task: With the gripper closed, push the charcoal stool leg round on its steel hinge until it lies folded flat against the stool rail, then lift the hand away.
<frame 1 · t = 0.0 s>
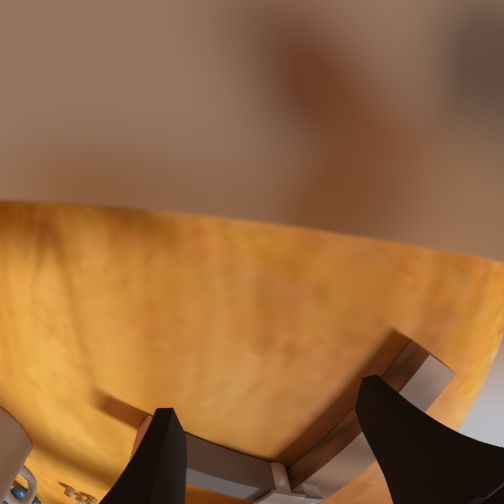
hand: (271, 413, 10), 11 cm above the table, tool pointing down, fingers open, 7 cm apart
dice set: (88, 494, 25), on the table
stool leg: (218, 469, 21), point 2 cm above the table, hinge at 90.0°
mug: (15, 436, 21), on the table
grapes: (23, 488, 24), on the table
stool rail: (353, 433, 24), on the table
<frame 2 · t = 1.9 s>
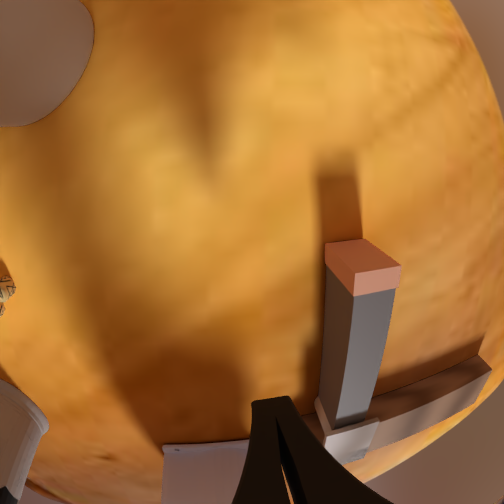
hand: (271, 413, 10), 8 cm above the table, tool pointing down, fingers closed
dice set: (0, 274, 16), on the table
stool leg: (348, 363, 17), point 2 cm above the table, hinge at 90.0°
glass holder: (21, 419, 21), on the table
mug: (26, 86, 11), on the table
stool rail: (397, 404, 24), on the table
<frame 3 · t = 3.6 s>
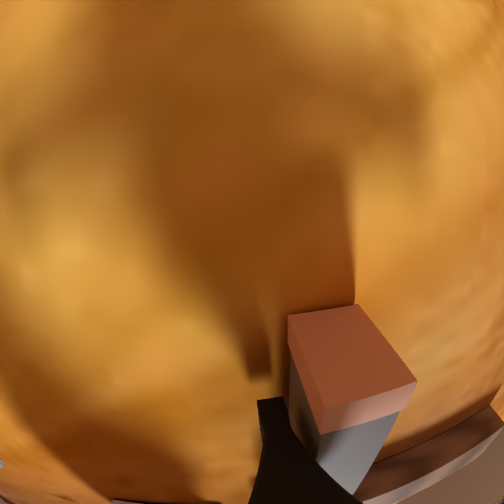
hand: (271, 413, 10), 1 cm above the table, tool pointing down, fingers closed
stool leg: (320, 464, 11), point 2 cm above the table, hinge at 89.0°, touching gripper
stool rail: (389, 468, 17), on the table
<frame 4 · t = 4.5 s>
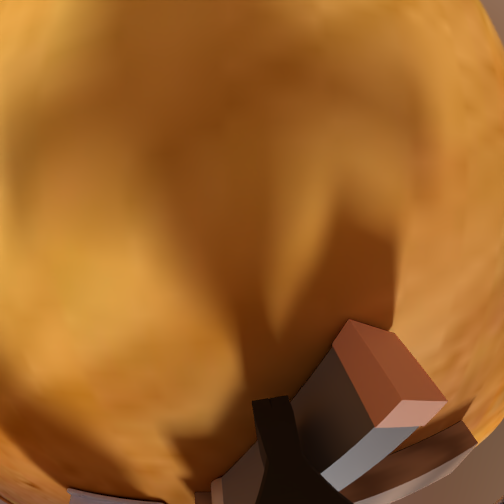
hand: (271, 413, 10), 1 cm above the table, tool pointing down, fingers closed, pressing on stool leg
stool leg: (288, 472, 11), point 2 cm above the table, hinge at 60.6°, touching gripper
stool rail: (342, 482, 17), on the table
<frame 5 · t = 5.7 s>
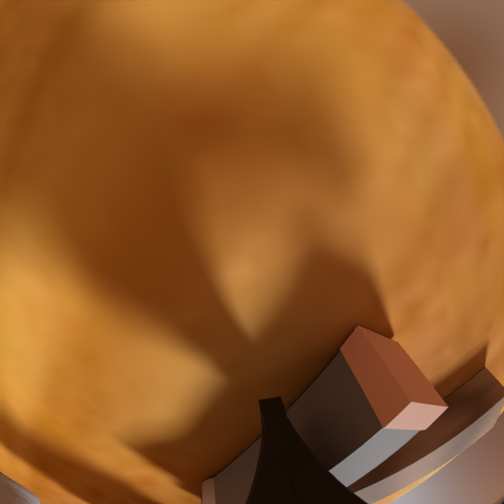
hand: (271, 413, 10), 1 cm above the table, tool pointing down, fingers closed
stool leg: (285, 474, 11), point 2 cm above the table, hinge at 34.9°, touching gripper
glass holder: (23, 493, 18), on the table
stool rail: (356, 464, 16), on the table
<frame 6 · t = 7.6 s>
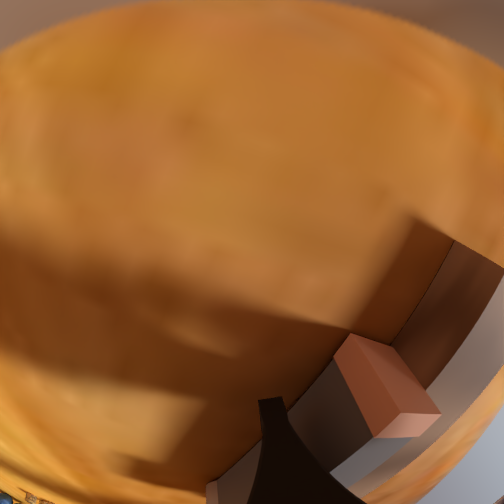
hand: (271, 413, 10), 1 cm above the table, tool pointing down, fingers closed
dice set: (51, 500, 19), on the table
stool leg: (284, 477, 11), point 2 cm above the table, hinge at -2.1°, touching gripper, stool rail
grapes: (8, 494, 19), on the table
stool rail: (358, 429, 13), on the table
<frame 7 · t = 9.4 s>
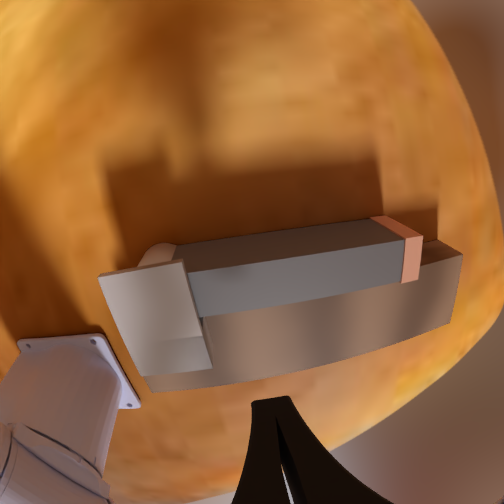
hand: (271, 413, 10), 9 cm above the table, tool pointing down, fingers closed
stool leg: (276, 265, 15), point 2 cm above the table, hinge at -2.1°
stool rail: (304, 306, 19), on the table
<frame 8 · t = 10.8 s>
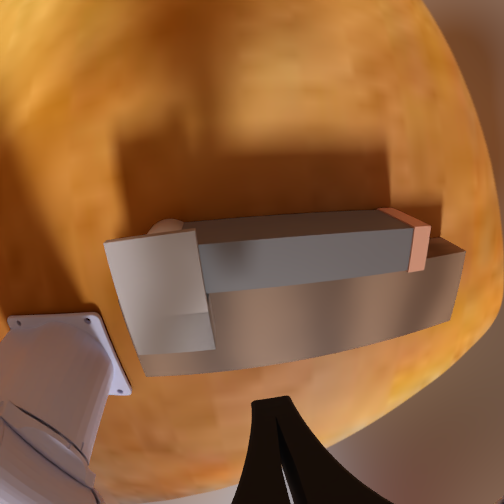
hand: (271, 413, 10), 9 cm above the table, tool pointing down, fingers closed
stool leg: (286, 246, 15), point 2 cm above the table, hinge at -2.1°
stool rail: (307, 295, 19), on the table
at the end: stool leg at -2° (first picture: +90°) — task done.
